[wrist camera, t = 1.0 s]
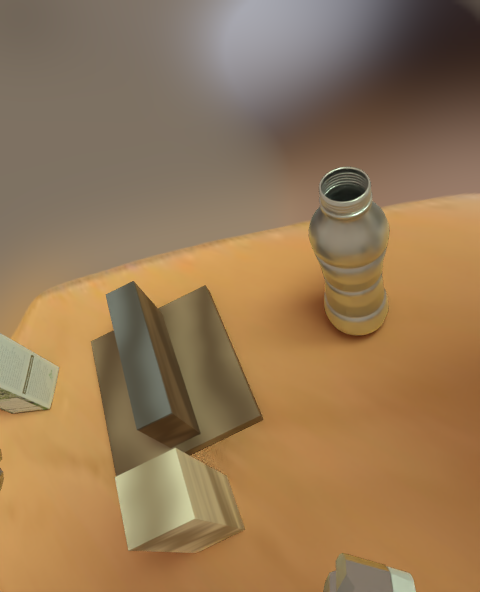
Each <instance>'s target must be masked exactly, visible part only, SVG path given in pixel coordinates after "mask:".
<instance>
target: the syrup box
mask: <svg viewBox="0 0 480 592" xmlns="http://www.w3.org/2000/svg"><path fill="white" fill-rule="evenodd" d="M58 372H59V367H58V366H56V365H55V364H53V363H51V362H49V361H48V360H46V359H44V358H42V357H41V356H39V355H37V354H36V353H34V352H32V351H30V350H29V349H27V348H25V347H23V346H22V345H20V344H18V343H16V342H15V341H13V340H11V339H9V338H8V337H6V336H4V335H3V334H1V333H0V409H2V410H4V411H7V412H9V413H21V412H29V411H37V410H46V409H50V407H51V403H52V400H53V396H54V391H55V386H56V381H57V376H58Z"/></svg>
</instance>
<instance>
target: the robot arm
mask: <svg viewBox="0 0 480 592" xmlns="http://www.w3.org/2000/svg"><path fill="white" fill-rule="evenodd" d="M1 460H2V453H1V449H0V461H1ZM3 480H4V478H3V471H2V470H1V468H0V490H1V488H2V484H3ZM323 592H416V589H415V584H414V580H413V578H412V576H411V574H410V573H408V572H405V571H402V570H398V569H395V568H391V567H387V566H386V565H384V564H380V563H377V562H373V561H370V560H366V559H363V558H359V557H356V556H352V555H349V554H345V553H342V554H340V555H339V556H338V558H337V560H336V571H333V572H331V573H329V575H328V577H327V579H326V582H325V585H324V590H323Z"/></svg>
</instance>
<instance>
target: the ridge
mask: <svg viewBox="0 0 480 592" xmlns="http://www.w3.org/2000/svg"><path fill="white" fill-rule="evenodd" d="M106 298H107V303H108V307H109V311H110V316H111V320H112V324H113V329H114V331H112V332H109V333H107V334H105V335H103V336H101V337H99V338H97V339H95V340H93V341H91V344H92V349H93V355H94V360H95V365H96V371H97V376H98V381H99V387H100V392H101V397H102V403H103V408H104V414H105V419H106V424H107V430H108V435H109V440H110V446H111V451H112V456H113V462H114V467H115V472H116V476H118V475H120V474H122V473H125V472H127V471H129V470H131V469H133V468H135V467H137V466H139V465H141V464H143V463H145V462H147V461H149V460H151V459H153V458H155V457H158V456H160V455H162V454H164V453H166V452H168V451H170V450H172V449H174V448H177V449H178V450H180V451H182V452H184V453H186V454H188V455H191V454H194V453H196V452H198V451H200V450H202V449H204V448H206V447H208V446H210V445H212V444H214V443H216V442H218V441H220V440H222V439H224V438H227V437H229V436H231V435H233V434H235V433H237V432H239V431H241V430H243V429H245V428H247V427H249V426H251V425H253V424H255V423H258V422H260V421H262V420H263V417H262V415H261V412H260V410H259V408H258V405H257V403H256V401H255V398H254V396H253V394H252V391H251V389H250V386H249V384H248V382H247V379H246V377H245V375H244V372H243V370H242V367H241V365H240V363H239V360H238V358H237V356H236V353H235V351H234V348H233V346H232V344H231V341H230V339H229V337H228V334H227V332H226V330H225V327H224V325H223V322H222V320H221V318H220V315H219V313H218V311H217V308H216V306H215V303H214V301H213V299H212V296H211V294H210V292H209V290H208V288H207V287H206V285H205V286H203V287H201V288H199V289H197V290H195V291H193V292H191V293H189V294H187V295H185V296H183V297H181V298H178V299H176V300H174V301H172V302H170V303H168V304H166V305H164V306H162V307H160V308H157V307H156V306H155V305H154V304H153V303H152V301H151V300H150V299H149V298H148V297H147V296H146V295H145V293H144V292H143V291H142V290H141V289H140V288H139V287H138V286H137V284H136V283H135V282H134V281H132V282H130V283H128V284H126V285H124V286H122V287H120V288H118V289H116V290H114V291H112V292H110V293H108V294H106Z"/></svg>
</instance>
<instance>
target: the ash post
mask: <svg viewBox="0 0 480 592" xmlns="http://www.w3.org/2000/svg"><path fill="white" fill-rule="evenodd" d="M115 481H116V486H117V492H118V497H119V503H120V508H121V513H122V519H123V524H124V530H125V535H126V541H127V546H128V551H153V552H183V553H197V552H200V551H202V550H204V549H206V548H208V547H210V546H212V545H214V544H216V543H218V542H220V541H223V540H225V539H227V538H229V537H231V536H233V535H235V534H237V533H239V532H241V531H243V530H245V528H244V525H243V522H242V519H241V516H240V513H239V510H238V507H237V504H236V501H235V498H234V495H233V492H232V489H231V486H230V483H229V480H228V477H227V476H226V475H224V474H222V473H220V472H219V471H217V470H215V469H213V468H211V467H209V466H208V465H206V464H204V463H202V462H200V461H199V460H197V459H195V458H193V457H191V456H189V455H188V454H186V453H184V452H182V451H180V450H178V449H177V448H174V449H172V450H170V451H168V452H166V453H164V454H162V455H160V456H158V457H155V458H153V459H151V460H149V461H147V462H145V463H143V464H141V465H139V466H137V467H135V468H133V469H131V470H129V471H127V472H125V473H122V474H120V475H118V476H116V477H115Z"/></svg>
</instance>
